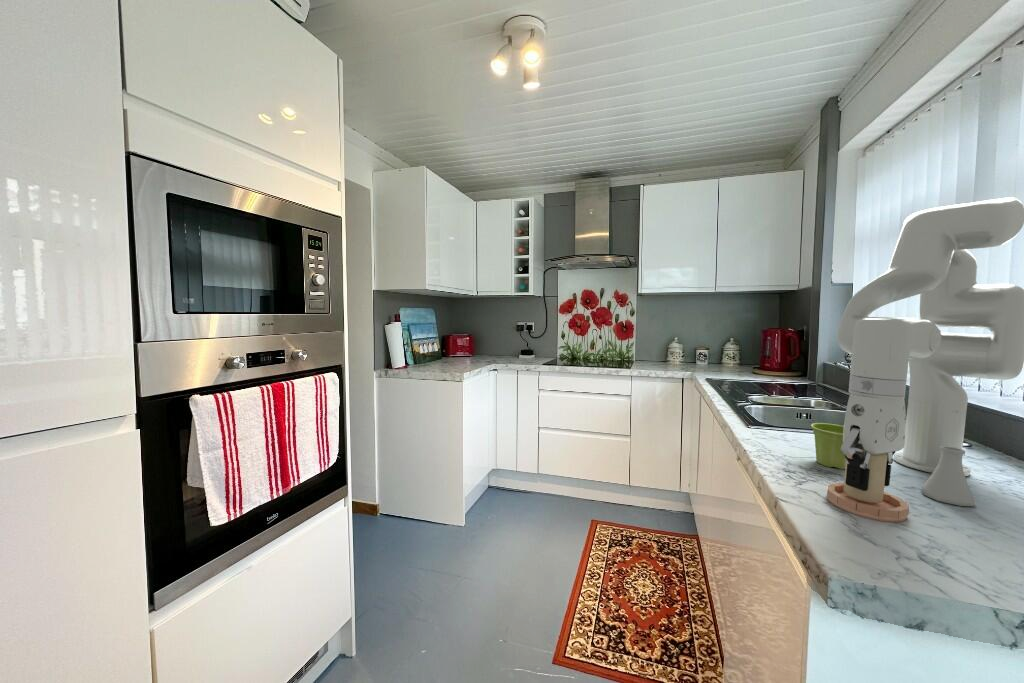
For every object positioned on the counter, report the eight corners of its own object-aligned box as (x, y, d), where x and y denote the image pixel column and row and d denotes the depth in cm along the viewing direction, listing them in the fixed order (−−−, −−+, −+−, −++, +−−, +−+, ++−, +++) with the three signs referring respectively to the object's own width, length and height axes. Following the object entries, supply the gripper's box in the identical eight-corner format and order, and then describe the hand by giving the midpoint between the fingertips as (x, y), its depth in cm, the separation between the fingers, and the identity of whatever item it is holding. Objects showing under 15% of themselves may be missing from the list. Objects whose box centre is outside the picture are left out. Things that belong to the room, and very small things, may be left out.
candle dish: (849, 490, 81) (850, 480, 81) (921, 516, 71) (922, 505, 71) (813, 497, 77) (814, 487, 77) (883, 526, 67) (884, 514, 67)
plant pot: (869, 470, 92) (872, 433, 91) (839, 474, 89) (842, 435, 89) (827, 456, 101) (829, 422, 100) (798, 459, 98) (801, 424, 98)
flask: (958, 494, 80) (963, 445, 80) (986, 510, 74) (992, 457, 73) (912, 488, 83) (916, 440, 82) (935, 503, 76) (940, 451, 75)
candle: (854, 501, 72) (859, 446, 71) (836, 488, 78) (841, 437, 77) (890, 505, 71) (896, 449, 70) (869, 491, 76) (874, 440, 76)
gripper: (871, 393, 66) (862, 501, 67) (931, 389, 72) (920, 487, 73) (822, 385, 73) (814, 483, 74) (880, 381, 79) (871, 472, 80)
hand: (867, 484), depth 74 cm, fingers closed on candle, 5 cm apart
